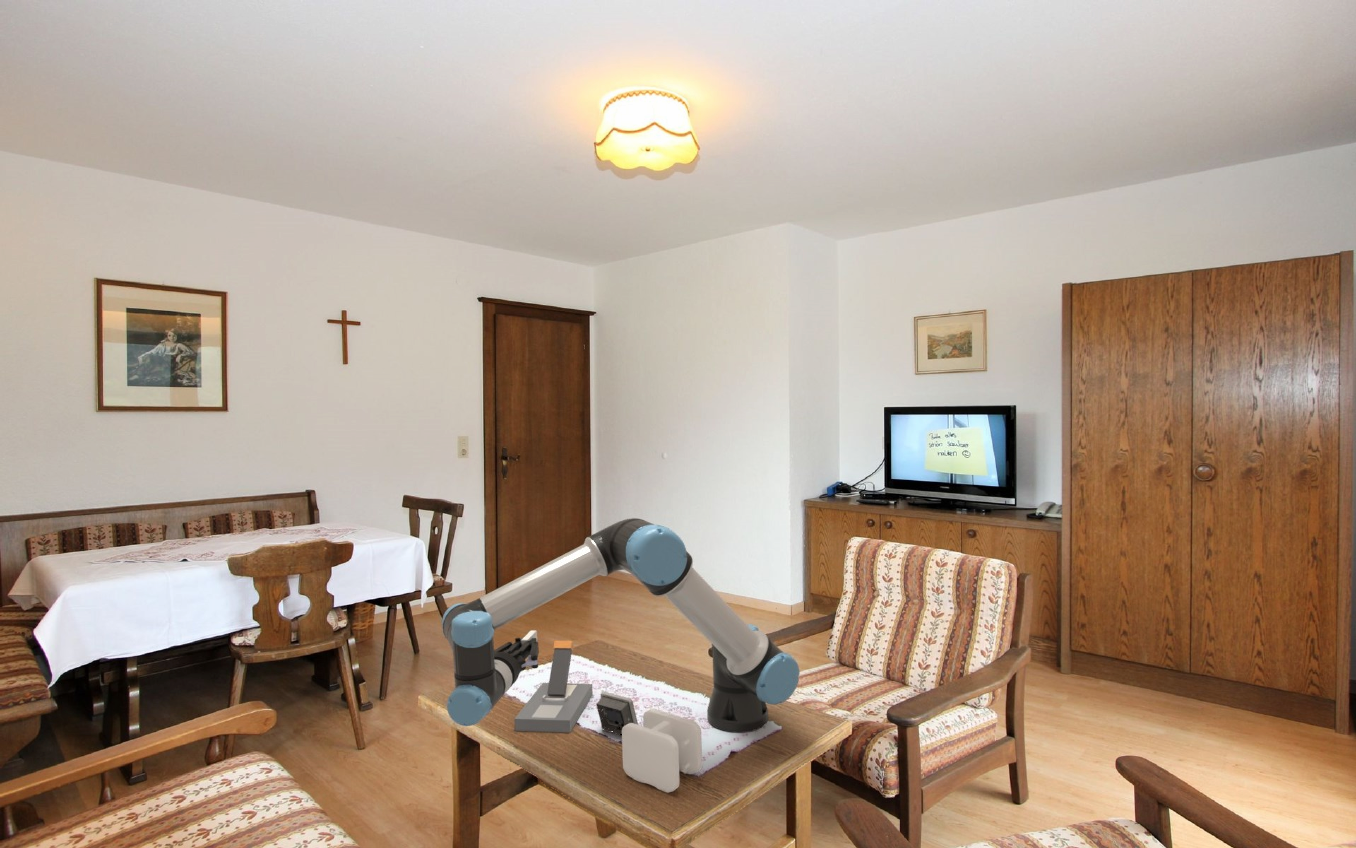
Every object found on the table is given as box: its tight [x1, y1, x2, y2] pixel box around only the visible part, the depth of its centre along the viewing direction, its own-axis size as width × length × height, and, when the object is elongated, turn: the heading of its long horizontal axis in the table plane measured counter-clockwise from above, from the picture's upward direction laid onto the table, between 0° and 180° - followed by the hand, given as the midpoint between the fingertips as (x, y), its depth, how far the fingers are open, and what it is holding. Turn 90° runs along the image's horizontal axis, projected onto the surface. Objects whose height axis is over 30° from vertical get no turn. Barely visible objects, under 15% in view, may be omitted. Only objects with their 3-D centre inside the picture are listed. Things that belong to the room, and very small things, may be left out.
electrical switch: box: [595, 691, 639, 735], centre depth 170 cm, size 9×5×9 cm, turn 57°
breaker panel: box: [513, 682, 594, 734], centre depth 182 cm, size 22×14×4 cm, turn 173°
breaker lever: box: [547, 640, 575, 696], centre depth 187 cm, size 2×5×14 cm
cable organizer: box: [621, 708, 703, 794], centre depth 149 cm, size 15×11×12 cm
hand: (534, 636), depth 167 cm, fingers closed
